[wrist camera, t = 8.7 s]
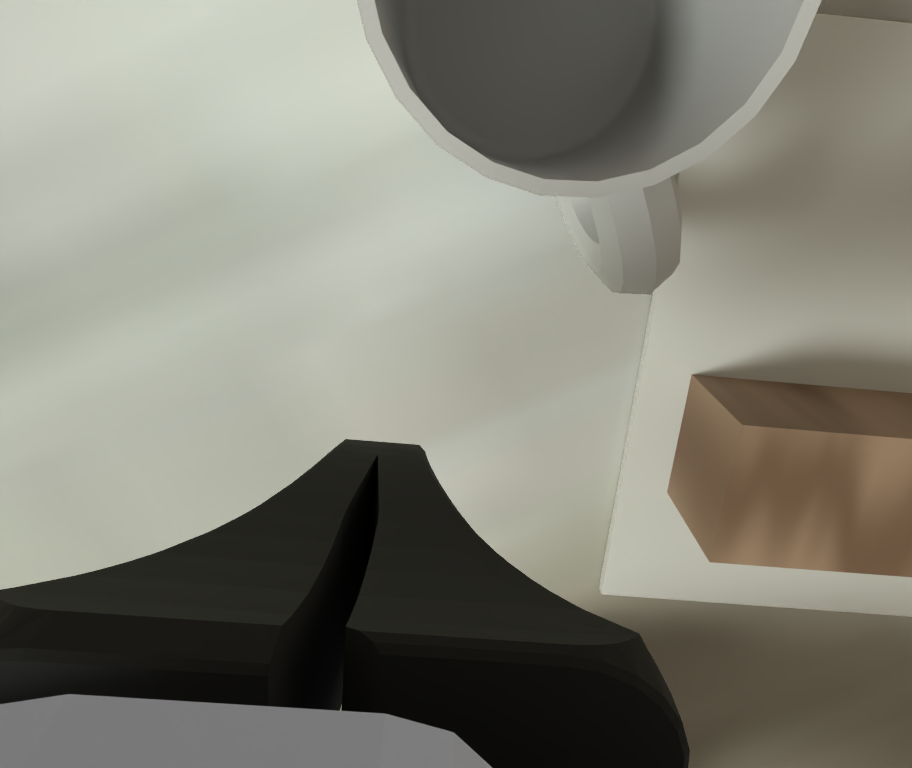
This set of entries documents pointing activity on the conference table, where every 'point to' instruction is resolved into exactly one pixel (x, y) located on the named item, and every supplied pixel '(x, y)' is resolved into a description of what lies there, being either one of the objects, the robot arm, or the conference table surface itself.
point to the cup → (590, 102)
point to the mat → (779, 300)
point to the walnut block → (796, 475)
